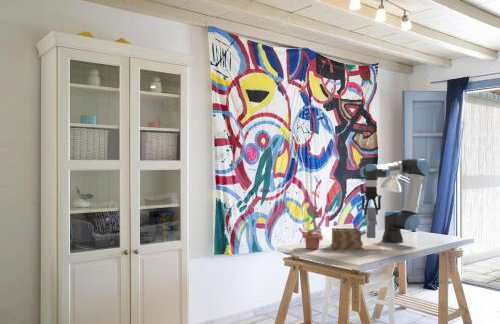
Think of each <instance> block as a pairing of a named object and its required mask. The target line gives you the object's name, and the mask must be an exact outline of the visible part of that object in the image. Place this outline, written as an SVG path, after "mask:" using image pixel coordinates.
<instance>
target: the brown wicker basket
mask: <svg viewBox="0 0 500 324" xmlns="http://www.w3.org/2000/svg"><path fill="white" fill-rule="evenodd" d="M361 231H362V230H359V228H347V227H343V228H341V227H333V228H332V227H331V244H330V248H331V250H332V251H363V249H362V248H361V246H362V245H361V241H362V236H361Z"/></svg>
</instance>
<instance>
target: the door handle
mask: <svg viewBox="0 0 500 324" xmlns="http://www.w3.org/2000/svg"><path fill="white" fill-rule="evenodd" d="M360 231H361V237H362V236H364V235H366V234H367V229H362V230H360ZM361 246H364V242H363V240H361Z"/></svg>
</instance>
